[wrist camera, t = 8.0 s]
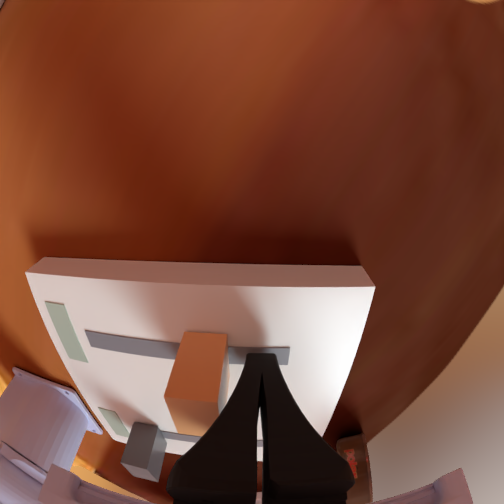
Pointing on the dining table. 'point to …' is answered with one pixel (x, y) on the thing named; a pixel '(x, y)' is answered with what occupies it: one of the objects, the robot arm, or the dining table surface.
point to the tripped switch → (198, 382)
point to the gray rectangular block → (144, 451)
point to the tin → (357, 468)
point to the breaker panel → (198, 330)
